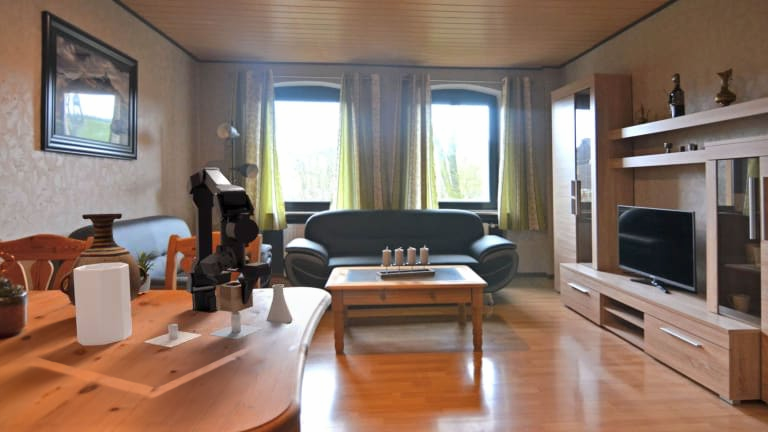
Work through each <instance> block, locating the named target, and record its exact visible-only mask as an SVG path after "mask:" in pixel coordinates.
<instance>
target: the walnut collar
mask: <svg viewBox="0 0 768 432" xmlns="http://www.w3.org/2000/svg"><path fill="white" fill-rule="evenodd" d="M253 294H254V293H253V291H252V293H251V295H250V298H249V300H248V302H247V304H243V302H242V292H241V283H240V282H239V281H238V280H231V281H230V282H227V283H224V284H220V285H216V290H215V295H216V304H217V310H216V311H220V312H221V311H222V312H230V313H233V312H235V313H236V312H239V313H240V312H241V311H244V310H247V309H249V308H253V307H254V299H253V298H254V296H253Z"/></svg>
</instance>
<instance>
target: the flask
mask: <svg viewBox="0 0 768 432" xmlns="http://www.w3.org/2000/svg"><path fill="white" fill-rule="evenodd" d="M284 287H285V285H284V284H282V283H281V284H278V283H277V284H273V285H272V286H271V289H272V292H273V293H272V294H273V295H272V301H271V304H270V307H269V311H268V314H267V316H266V320H265V321H266V322H273V323H280V324H288V323H291V322H292V321H293V316H292V313H291V311H290V308H289V306H288V304H287V303H288V302H287V301H286V298H285V295H284Z"/></svg>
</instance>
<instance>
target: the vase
mask: <svg viewBox="0 0 768 432" xmlns="http://www.w3.org/2000/svg"><path fill="white" fill-rule="evenodd" d="M81 217H82V219H84V220H90V221H91V223H92V225H93V240H92V243H91V245H90V247H89V248H87V249H85V250H84V251H82V252H81V253H80V254H79V255H78V256H77V258H76V259H75V261H74V263H73V265H72V266H71V270H70V271H69V272H67V273H65V274H64V275H63V276H62V277H61V278H60V281H59V286H58V287H59V290H60V291H61V292H62V293H63V294H64V295H66V296H67V297H68V300H69V302H70V303H71V304H72V306H73V307H76V306H75V289H74V272H73V269H75V268H77V267H81V266H84V265H92V264H100V263H125V264H128V265H129V282H130V301H131V302H132V301H134V300H135V299H137V297H138V293H139V290H140V287H141V286H142V285H143V284H145V282H146V280H147V274H148V271H147V272H146V270H145V269H144V268H142V267H141V266H139V265H138V264H137V263H138V261H136V259H134V258H135V257H134V256H133V255H132V254H131V252H130V251H129V250H128V249H126V248H125V247H123V246H121V245H118V244H117V243H116V241H115V238H114V232H113V231H114V229H113V227H114V222H115V220H120V219H122V217H123V213H117V212H116V213H88V214H87V213H83V214H81ZM139 270H141V271H142V272H143V274H144V278H143V280H141V279H140V271H139ZM67 279H68V281H67V288H66V289H65V288H64V287H63V286H64V282H65V280H67Z"/></svg>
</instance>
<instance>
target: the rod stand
mask: <svg viewBox="0 0 768 432" xmlns="http://www.w3.org/2000/svg"><path fill="white" fill-rule="evenodd" d="M167 327H168V329H167V330H168V333H166V334H162V335H159V336H157V337H154V338H151V339H148V340H145V341H144V343H146V344H152V345H156V346H162V347H167V348H172V347H175V346H178V345H181V344H183V343H185V342H189V341H191V340H193V339H196V338H199V337H201V336H203V334H199V333H198V334H197V333H193V332H187V331H186V332H185V331H182V330H179V328H178V327H179V326H178V323H170V324H168V325H167Z"/></svg>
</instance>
